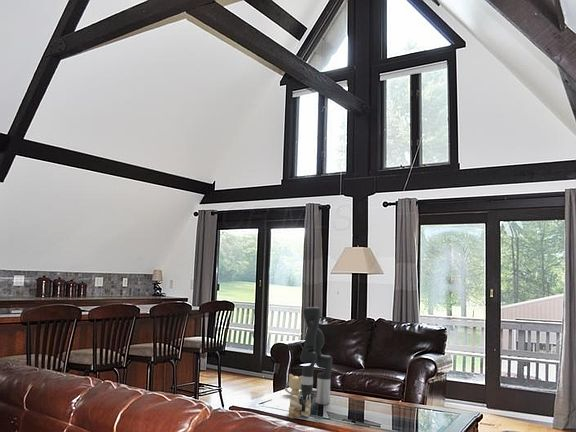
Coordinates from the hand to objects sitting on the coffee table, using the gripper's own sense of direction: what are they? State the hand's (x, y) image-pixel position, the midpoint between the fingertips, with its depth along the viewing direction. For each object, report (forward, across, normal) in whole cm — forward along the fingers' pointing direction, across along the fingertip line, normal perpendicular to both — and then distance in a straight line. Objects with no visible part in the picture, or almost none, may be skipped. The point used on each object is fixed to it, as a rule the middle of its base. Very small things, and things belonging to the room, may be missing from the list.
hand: (305, 410), depth 327 cm
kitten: (+4, -40, -40) cm, 56 cm away
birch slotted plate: (+3, 0, -4) cm, 5 cm away
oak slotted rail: (+4, 0, -4) cm, 6 cm away
